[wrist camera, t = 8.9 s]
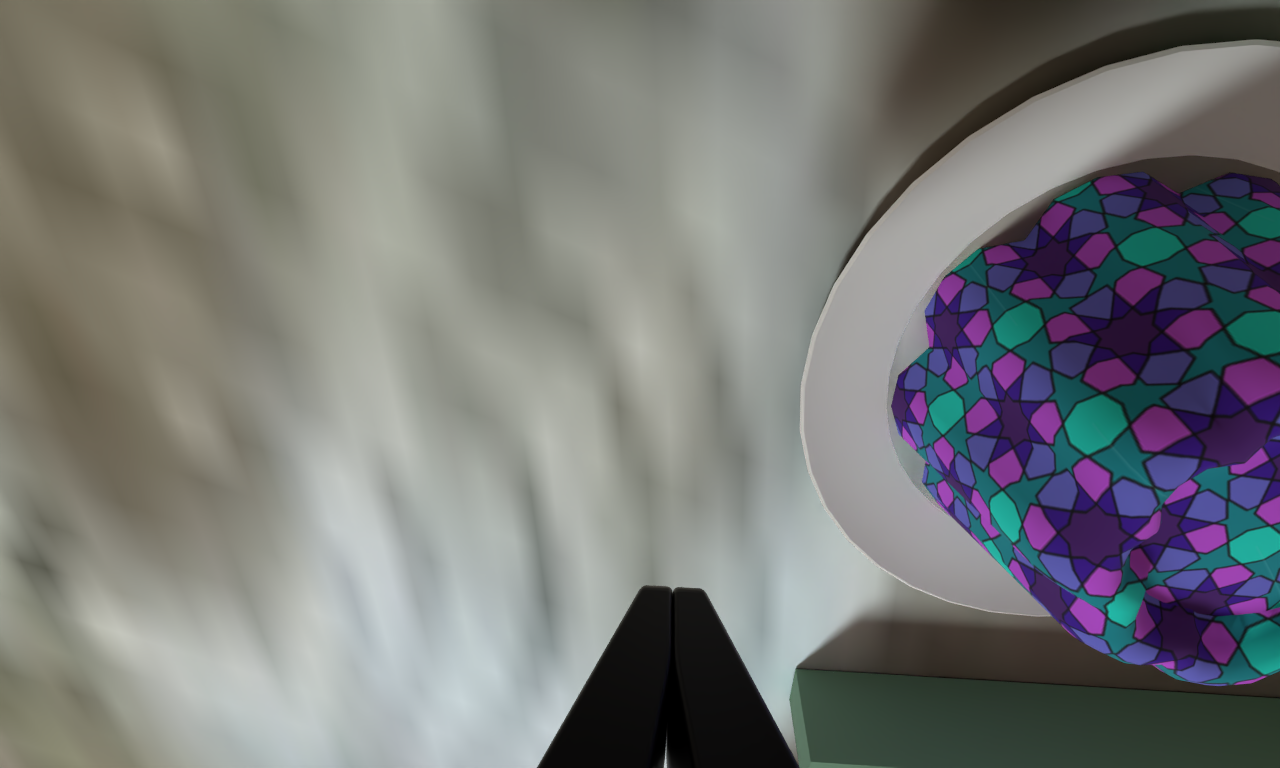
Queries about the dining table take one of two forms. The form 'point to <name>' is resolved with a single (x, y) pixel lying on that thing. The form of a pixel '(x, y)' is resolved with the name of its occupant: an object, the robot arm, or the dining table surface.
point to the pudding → (1079, 371)
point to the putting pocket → (1022, 725)
